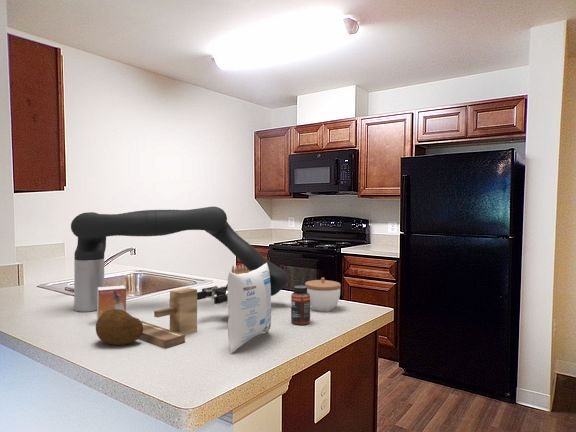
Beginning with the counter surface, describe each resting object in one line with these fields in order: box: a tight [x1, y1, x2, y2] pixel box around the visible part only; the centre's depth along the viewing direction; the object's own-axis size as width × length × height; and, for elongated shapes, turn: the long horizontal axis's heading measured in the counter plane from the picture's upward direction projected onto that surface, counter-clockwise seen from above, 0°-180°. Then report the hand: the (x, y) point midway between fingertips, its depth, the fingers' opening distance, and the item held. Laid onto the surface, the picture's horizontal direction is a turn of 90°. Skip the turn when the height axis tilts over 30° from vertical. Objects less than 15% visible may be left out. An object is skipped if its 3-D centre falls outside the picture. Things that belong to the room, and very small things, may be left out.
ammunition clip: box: [231, 263, 250, 274], centre depth 165 cm, size 11×2×12 cm, turn 138°
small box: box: [96, 284, 127, 322], centre depth 123 cm, size 8×6×10 cm
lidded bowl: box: [304, 277, 342, 312], centre depth 141 cm, size 13×13×11 cm
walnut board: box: [137, 320, 186, 350], centre depth 110 cm, size 26×6×2 cm, turn 53°
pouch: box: [227, 263, 272, 354], centre depth 105 cm, size 8×19×20 cm, turn 151°
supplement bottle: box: [290, 285, 311, 326], centre depth 123 cm, size 6×6×11 cm
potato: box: [95, 309, 143, 346], centre depth 103 cm, size 8×12×9 cm
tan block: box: [153, 287, 198, 336], centre depth 110 cm, size 4×12×12 cm, turn 143°
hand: (205, 298), depth 118 cm, fingers open, 8 cm apart
